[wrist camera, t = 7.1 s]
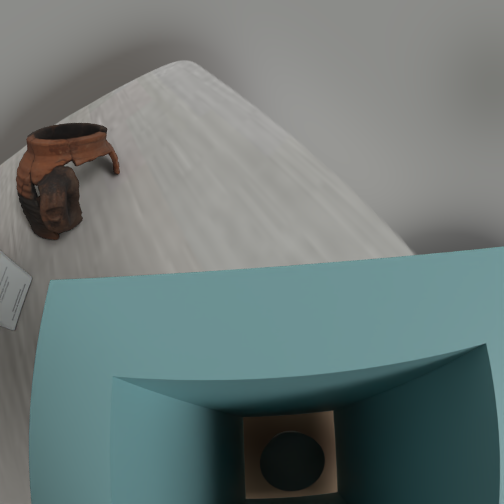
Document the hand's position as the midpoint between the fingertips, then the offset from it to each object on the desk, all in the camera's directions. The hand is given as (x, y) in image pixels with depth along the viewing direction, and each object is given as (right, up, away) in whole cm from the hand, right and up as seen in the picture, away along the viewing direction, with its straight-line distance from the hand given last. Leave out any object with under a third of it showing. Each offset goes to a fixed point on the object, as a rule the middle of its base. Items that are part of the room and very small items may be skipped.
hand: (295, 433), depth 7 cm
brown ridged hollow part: (-16, +9, +18) cm, 25 cm away
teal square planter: (+1, -5, +5) cm, 7 cm away
